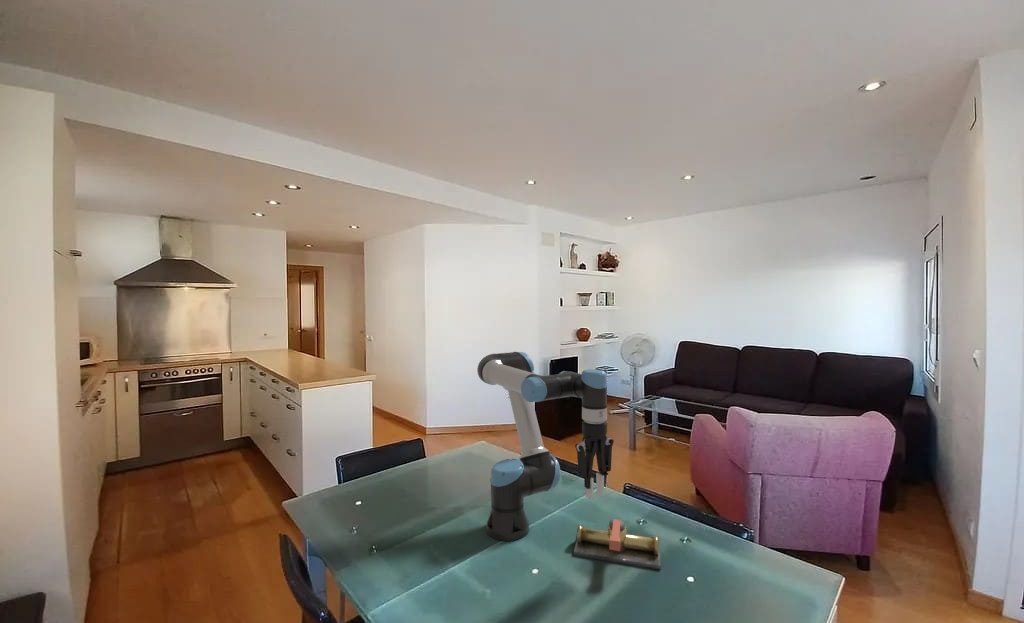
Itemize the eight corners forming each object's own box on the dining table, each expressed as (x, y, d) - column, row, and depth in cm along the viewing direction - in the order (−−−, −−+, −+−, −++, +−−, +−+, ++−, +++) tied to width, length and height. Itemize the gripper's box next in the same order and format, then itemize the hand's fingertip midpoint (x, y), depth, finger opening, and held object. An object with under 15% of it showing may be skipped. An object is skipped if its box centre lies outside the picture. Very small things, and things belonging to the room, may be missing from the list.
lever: (606, 549, 121) (606, 539, 121) (609, 522, 136) (609, 513, 136) (623, 552, 120) (623, 542, 120) (624, 524, 135) (624, 515, 135)
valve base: (573, 555, 130) (573, 533, 130) (579, 531, 144) (579, 512, 144) (660, 569, 123) (660, 546, 123) (658, 543, 136) (658, 522, 136)
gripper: (580, 427, 119) (581, 508, 119) (623, 419, 126) (623, 495, 127) (565, 421, 125) (566, 497, 126) (607, 414, 133) (607, 486, 133)
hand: (595, 496), depth 126 cm, fingers open, 3 cm apart
